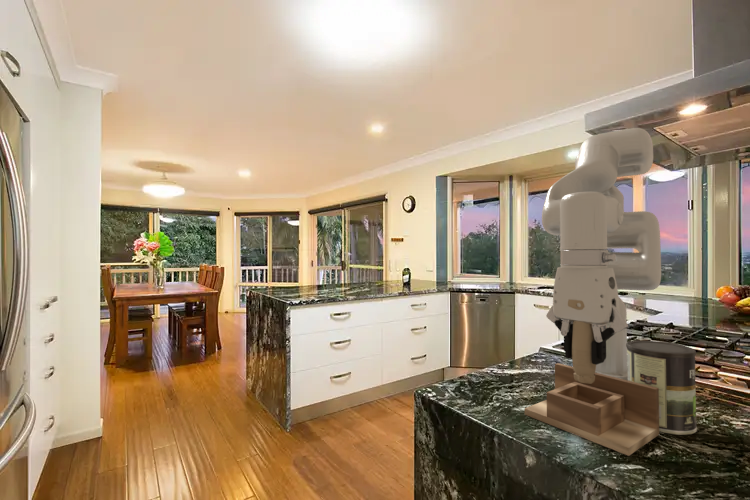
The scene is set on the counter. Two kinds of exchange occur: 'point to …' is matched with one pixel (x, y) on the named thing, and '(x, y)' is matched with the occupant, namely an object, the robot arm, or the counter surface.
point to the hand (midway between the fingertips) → (584, 358)
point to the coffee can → (667, 381)
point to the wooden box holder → (601, 410)
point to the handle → (582, 348)
